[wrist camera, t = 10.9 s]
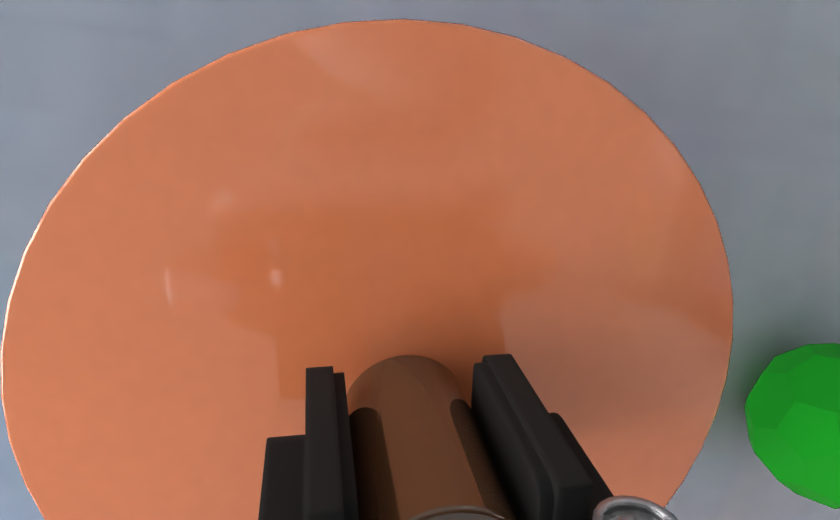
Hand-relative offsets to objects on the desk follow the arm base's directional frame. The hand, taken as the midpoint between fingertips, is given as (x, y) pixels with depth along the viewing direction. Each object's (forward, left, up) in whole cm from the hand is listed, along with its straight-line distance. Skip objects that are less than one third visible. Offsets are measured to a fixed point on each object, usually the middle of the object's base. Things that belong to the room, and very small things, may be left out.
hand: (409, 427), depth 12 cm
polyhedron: (-4, +14, -6) cm, 16 cm away
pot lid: (0, 0, -1) cm, 1 cm away
